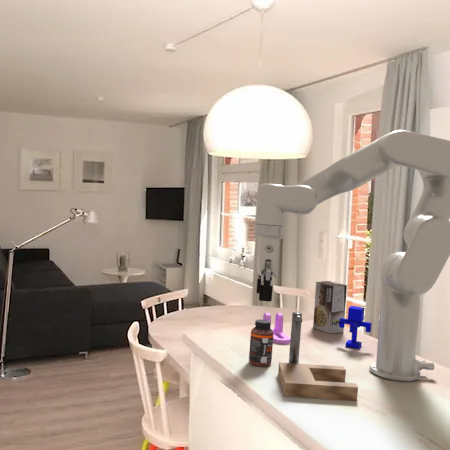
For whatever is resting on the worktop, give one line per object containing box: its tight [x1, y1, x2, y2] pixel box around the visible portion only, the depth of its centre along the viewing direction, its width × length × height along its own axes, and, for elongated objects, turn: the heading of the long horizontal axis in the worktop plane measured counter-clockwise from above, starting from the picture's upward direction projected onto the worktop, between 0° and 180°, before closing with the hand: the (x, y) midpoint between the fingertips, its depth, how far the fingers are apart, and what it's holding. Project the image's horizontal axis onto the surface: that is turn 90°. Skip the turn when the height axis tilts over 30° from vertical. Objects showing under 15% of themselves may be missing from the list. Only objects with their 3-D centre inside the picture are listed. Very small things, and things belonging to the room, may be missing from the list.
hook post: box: [288, 311, 303, 364], centre depth 128 cm, size 4×6×15 cm, turn 0°
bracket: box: [262, 312, 291, 345], centre depth 160 cm, size 13×6×7 cm, turn 14°
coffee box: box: [312, 280, 348, 334], centre depth 175 cm, size 9×6×16 cm
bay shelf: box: [277, 361, 359, 402], centre depth 120 cm, size 16×14×3 cm
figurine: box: [339, 305, 372, 350], centre depth 156 cm, size 8×8×12 cm
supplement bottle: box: [248, 318, 274, 367], centre depth 134 cm, size 6×6×11 cm
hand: (263, 297), depth 134 cm, fingers open, 9 cm apart
